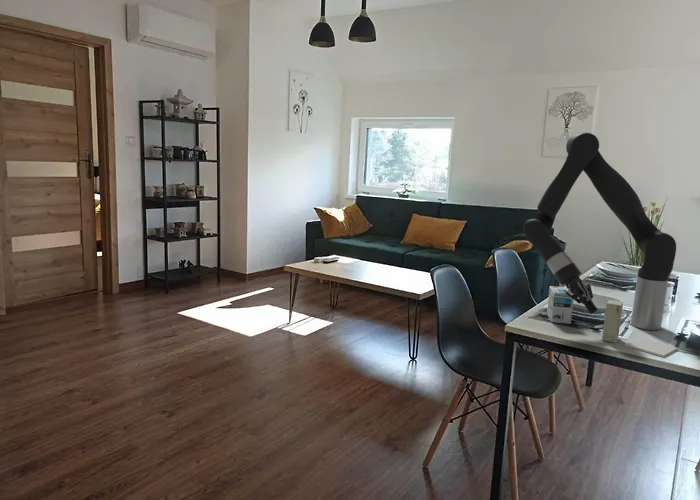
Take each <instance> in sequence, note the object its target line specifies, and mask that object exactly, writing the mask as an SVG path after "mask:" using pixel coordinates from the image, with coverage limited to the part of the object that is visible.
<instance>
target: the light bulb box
mask: <svg viewBox="0 0 700 500" xmlns="http://www.w3.org/2000/svg"><path fill="white" fill-rule="evenodd" d="M548 287H549V288H548V299H547V310H546V315H547V317H548V319H549V320H550V322H551V323H558V324H569V325H571V323H572V317H573V316H572V315H573V307H574V306H573V305H574V301H575V300H574V299H572V298H571V297H570V296H568V295H567V294H566V292H567V291H568V288H567V287H566V286H563V287H562V286H555V285H554V286H553V285H550V286H548Z"/></svg>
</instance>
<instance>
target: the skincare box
mask: <svg viewBox="0 0 700 500" xmlns="http://www.w3.org/2000/svg"><path fill="white" fill-rule="evenodd" d="M623 305H624V302H623V301H618V300H613V299H608V301H607V302H606V306H605V307H606V308H605V315H604V323H603V331H602V337H601V340H602V341H605V342H610V343H618V340H619V335H620V327H621V320H622V313H623Z"/></svg>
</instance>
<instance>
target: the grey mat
mask: <svg viewBox="0 0 700 500" xmlns="http://www.w3.org/2000/svg"><path fill="white" fill-rule="evenodd" d="M624 347H627V348H630V349H633V350H637V351H640V352H644V353H648V354H651V355H653V356H657V357H662V358H665V357H667V356H668V355H670V354H672V353H674V352H676V351H678V347H676V346H672V345H669V344H665V343H661V342H658V341H654V340H652V339H647V338H643V337H637V338H636V339H633V340H631V341H629V342H627V343H624Z"/></svg>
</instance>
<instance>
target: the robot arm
mask: <svg viewBox="0 0 700 500" xmlns="http://www.w3.org/2000/svg"><path fill="white" fill-rule="evenodd" d="M565 149H566V153H567V155H566V159H565V161H564V163H563V165H562V167H561V169H560V170H559V172H558V173H557V175H556V176H555V178H554V179H552V182H551V183H550V184H549V185H548V187H547V189H546V190H545V192H544V193H543V195H542V196H541V198H540V201H539V203H538V205H537V213H536V216H535V217H534V218H531V219H527V220H526V221H525V222H524V224H523V226H522V232H523V235H524V236H525V238H526V239H527V241H529V243H531V245H532V246H533V247H534V248H535V249H536V250H537V251H538V252H539V254H540V255H541V258H543V260H544V261H545V263H546V264H547V266H548V268H549V270H550V271H551V273H552V274H553V275H554V276H555V278H556V280H557V282H558V283H559V284H560V285H561V286H565V287H566V288H568V291H567V292H566V294H567V295H568V296H570V297H571V298H572V299H574V300H573V301H574V302H577V304H582V305H583V306H585V308H586V309H587V311H588V312H589V314H591V315H593V314H595V313H596V312H598V311H599V310H598V307H597V306H596V304H594V302H593V298H594V293H593V290H592V285H591V284H590V283H588V284H585V282H584V281H583V280H582V279H581V278H580V276H581V275H582V271H581V270H580V269H579V267H578V266H577V265H576V263H574V261H573V259H572V258H571V257H570V256H569V254H567V252H566V251H565V250H564V248H563V247H562V246H561V244H560V243H559V242H558V241H557V239H554V238H553V237H552V235H550V233H551V231H552V228H553V225H554V222H555V220H556V216H557V215H558V213H559V211H560V210H561V208H562V206H563V204H564V203H565V201H566V199H567V197H568V195H569V193H570V191H571V190H572V188H573V186H574V185H575V184H576V181H577V180H578V178H579V177H580V175H581V174H582V172H584V173H585V174H586V175H587V177H588V178H589V180H590V182H591V183H592V185H593V187H594V188H595V190H596V191H597V192H598V194H599V196H600V197H601V199H602V200H603V201H604V202H605V204H606V205H607V206H608V208H609V209H610V210H611V212H613V214H614V215H615V216H616V217H617V219H618V220H619V221H620V222H621V223H622V224H623V225H624V226H625V228H626V229H627V230H628V231H629V233H630V235H631V236H632V238H633V239H634V241H635V243H636V244H637V246H638V248H639V250H640V251H641V252H642V253H643V254H644V258H643V263H642V266H641V267H639V268H638V271H637V277H636V286H635V290H634V299H633V307H632V312H631V320H630V325H632V326H633V327H635V328H638V329H643V330H648V331H659V330H661V329H662V324H663V317H664V310H665V303H666V298H667V297H666V296H667V291H668V286H669V285H668V284H669V280H670V279H669V278H670V275H671V273H672V272H673V268H674V263H675V260H676V255H677V242H676V240H675V238H674V237H673V236H672V235H670V234H669V233H666V232H664V231H663V232H662V231H661V230H660V229H659V228H658V227H657V226H656V225H655V224H654V223H653V222H652V220H651V219H650V218H649V217H648V216H647V214H646V212H645V209H644V208H643V207H644V206H643V204H642V202H641V200H640V197H639V196H638V194H637V193H636V191H635V190H634V189H633V187H632V186H631V184H630V183H629V182H628V181H627V180H626V179H625V177H623V176H622V175H621V174H620V173H619V172H618V171H617V170H616V169H615V168H613V167H612V166H611V165H610V164H609V163H608V162H607V161H606V159H605V158H604V157H603V155H602V154H601V152H600V151H599V149H600V141H599V138H598V137H597V136H596V135H595V134H593V133H591V132H579V133H575V134H573V135H571V136H570V137H569V138H568V140H567V142H566V146H565Z"/></svg>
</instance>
